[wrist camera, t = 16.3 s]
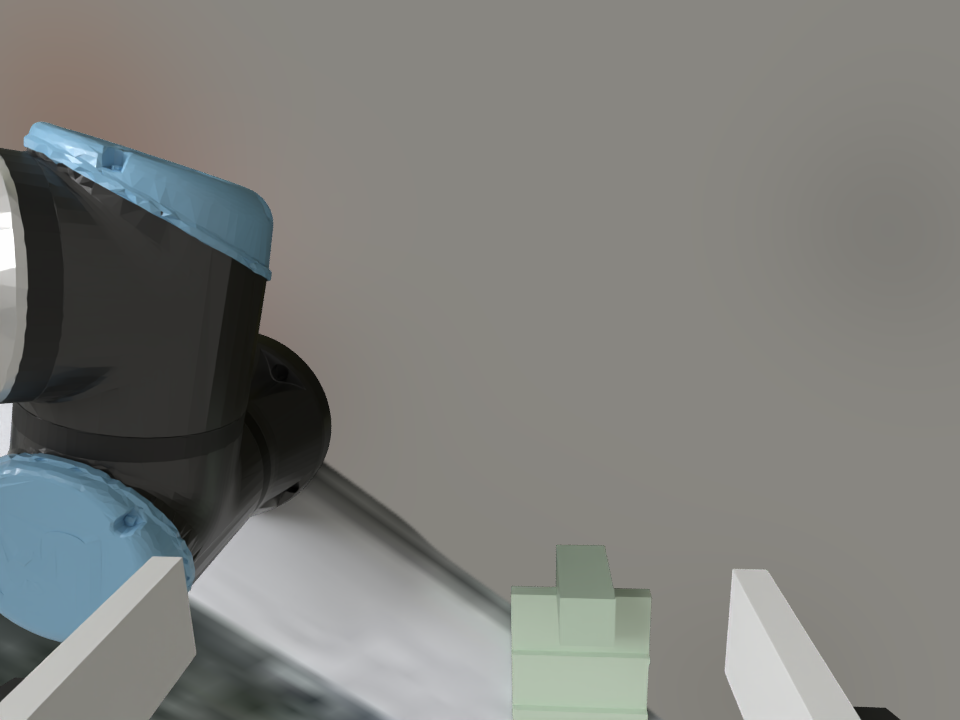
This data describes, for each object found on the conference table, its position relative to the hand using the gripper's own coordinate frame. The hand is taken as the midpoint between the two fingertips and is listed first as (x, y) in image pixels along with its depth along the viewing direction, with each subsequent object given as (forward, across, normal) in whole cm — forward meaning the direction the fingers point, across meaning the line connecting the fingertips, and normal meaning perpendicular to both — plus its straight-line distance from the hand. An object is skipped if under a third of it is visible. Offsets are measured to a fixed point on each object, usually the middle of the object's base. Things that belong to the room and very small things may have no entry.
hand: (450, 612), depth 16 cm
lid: (+37, +6, -29) cm, 47 cm away
